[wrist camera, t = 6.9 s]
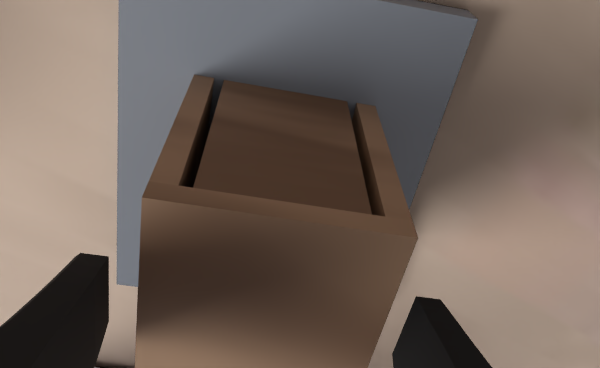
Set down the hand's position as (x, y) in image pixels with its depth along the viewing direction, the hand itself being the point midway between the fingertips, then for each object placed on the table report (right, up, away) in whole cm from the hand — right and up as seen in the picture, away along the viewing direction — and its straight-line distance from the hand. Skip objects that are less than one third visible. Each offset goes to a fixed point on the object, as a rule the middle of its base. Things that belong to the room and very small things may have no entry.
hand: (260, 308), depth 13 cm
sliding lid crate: (0, +3, +5) cm, 6 cm away
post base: (0, +4, +6) cm, 7 cm away
